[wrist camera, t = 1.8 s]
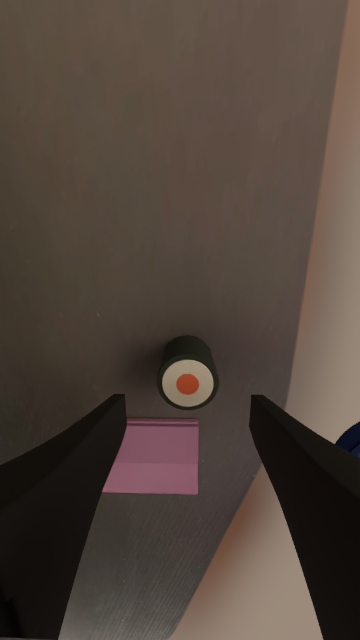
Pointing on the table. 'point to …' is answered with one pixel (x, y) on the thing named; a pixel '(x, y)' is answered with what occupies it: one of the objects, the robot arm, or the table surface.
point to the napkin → (156, 457)
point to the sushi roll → (187, 374)
